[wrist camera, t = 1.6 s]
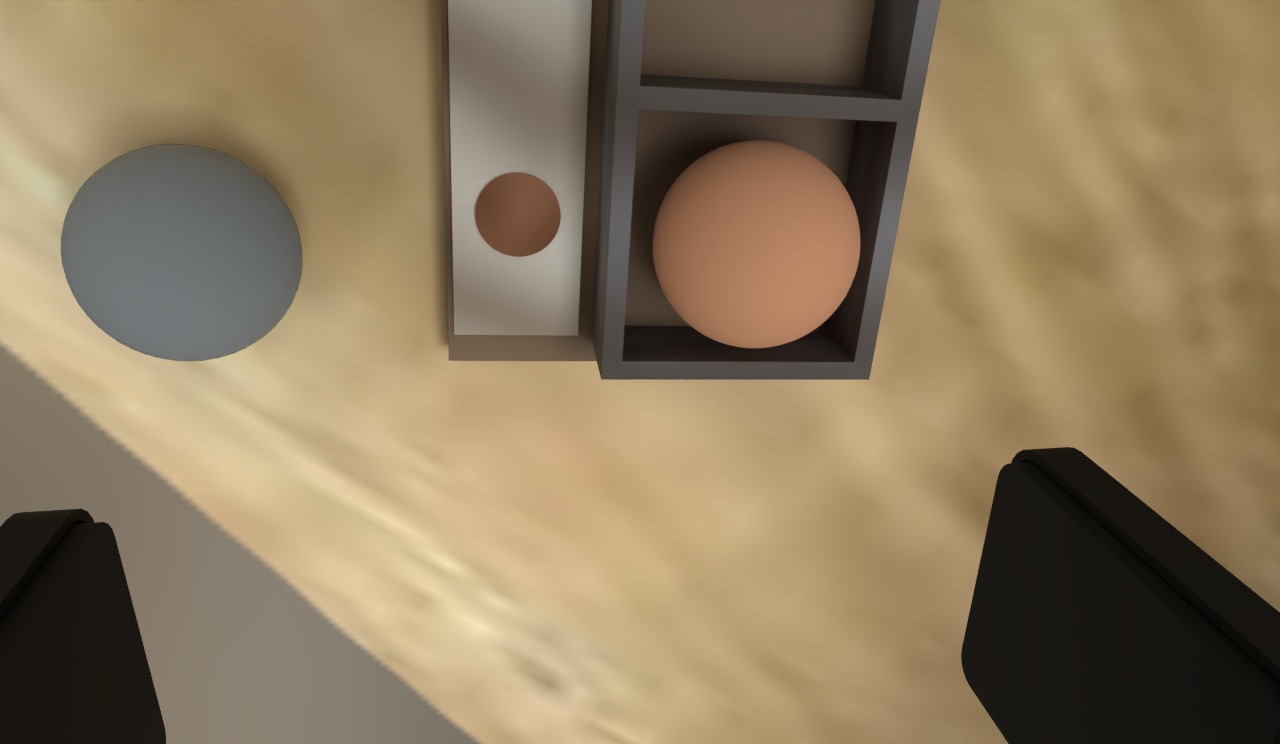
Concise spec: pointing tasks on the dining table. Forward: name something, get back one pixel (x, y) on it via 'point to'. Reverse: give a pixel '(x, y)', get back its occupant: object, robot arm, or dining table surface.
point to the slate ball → (181, 252)
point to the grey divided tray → (658, 165)
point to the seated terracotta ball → (756, 244)
